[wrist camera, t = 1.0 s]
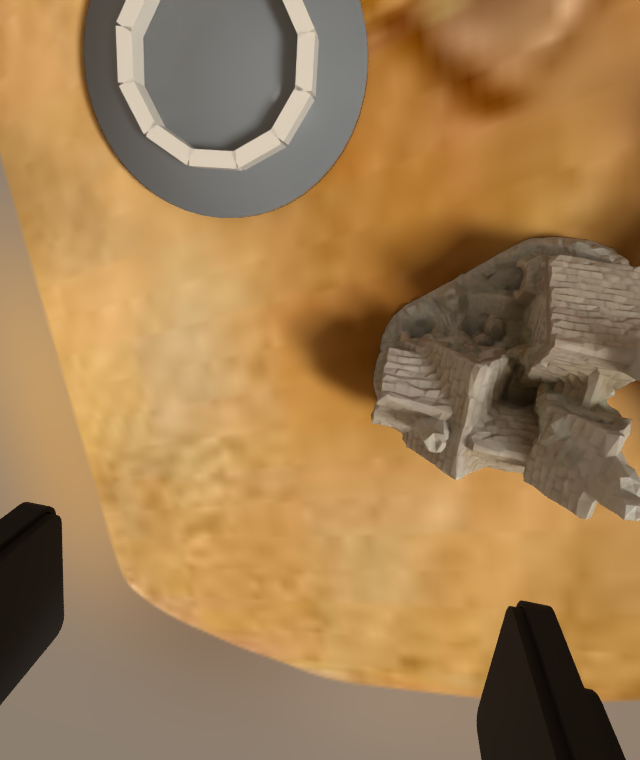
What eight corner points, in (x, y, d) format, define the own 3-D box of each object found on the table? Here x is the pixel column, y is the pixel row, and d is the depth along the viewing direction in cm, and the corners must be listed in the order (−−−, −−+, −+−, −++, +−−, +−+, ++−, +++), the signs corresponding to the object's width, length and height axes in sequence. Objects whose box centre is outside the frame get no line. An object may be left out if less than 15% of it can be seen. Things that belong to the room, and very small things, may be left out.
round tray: (286, -177, 30) (276, -211, 27) (415, 136, 33) (416, 130, 31) (41, 4, 34) (14, -13, 32) (178, 262, 38) (163, 265, 35)
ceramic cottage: (678, 271, 33) (848, 316, 19) (550, 482, 39) (611, 633, 25) (444, 183, 35) (446, 166, 21) (354, 400, 41) (309, 500, 27)
